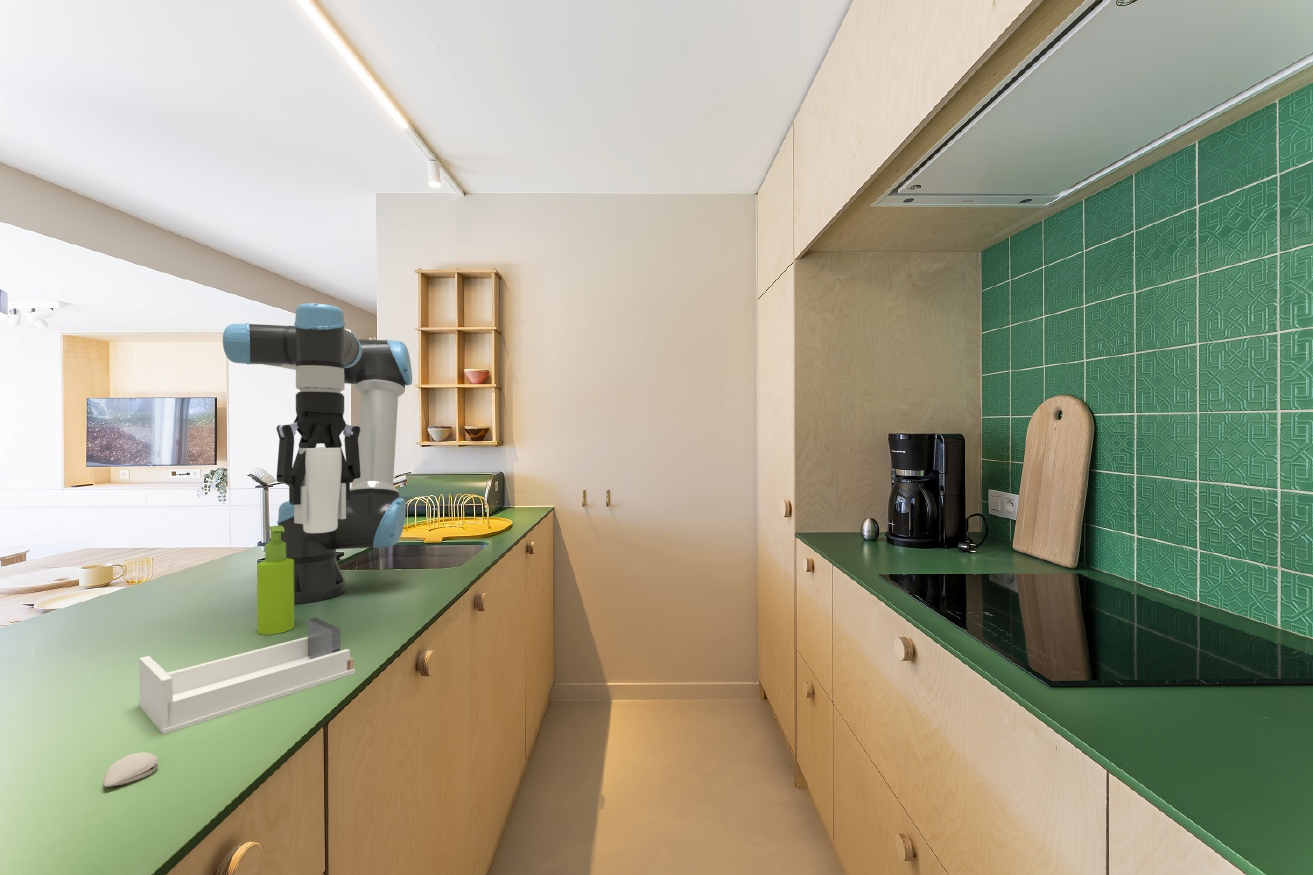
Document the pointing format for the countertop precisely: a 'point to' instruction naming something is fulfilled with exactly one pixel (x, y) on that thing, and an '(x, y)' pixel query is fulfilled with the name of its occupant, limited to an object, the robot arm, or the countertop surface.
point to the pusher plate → (322, 638)
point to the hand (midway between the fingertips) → (320, 520)
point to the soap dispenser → (275, 587)
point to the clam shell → (130, 769)
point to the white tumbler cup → (322, 488)
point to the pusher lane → (233, 682)
